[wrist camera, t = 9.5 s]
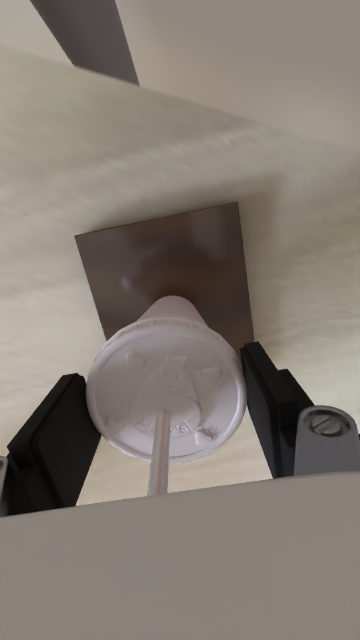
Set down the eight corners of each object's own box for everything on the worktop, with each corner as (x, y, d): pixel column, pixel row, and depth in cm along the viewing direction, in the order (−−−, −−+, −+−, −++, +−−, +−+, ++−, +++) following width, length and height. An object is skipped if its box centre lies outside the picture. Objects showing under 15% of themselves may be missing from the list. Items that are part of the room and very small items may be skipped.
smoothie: (123, 352, 21) (20, 580, 7) (134, 267, 19) (21, 373, 5) (206, 367, 21) (251, 608, 8) (227, 285, 19) (335, 424, 6)
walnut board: (81, 235, 22) (74, 235, 20) (234, 203, 21) (237, 201, 19) (126, 387, 26) (123, 397, 25) (253, 366, 25) (258, 374, 24)
